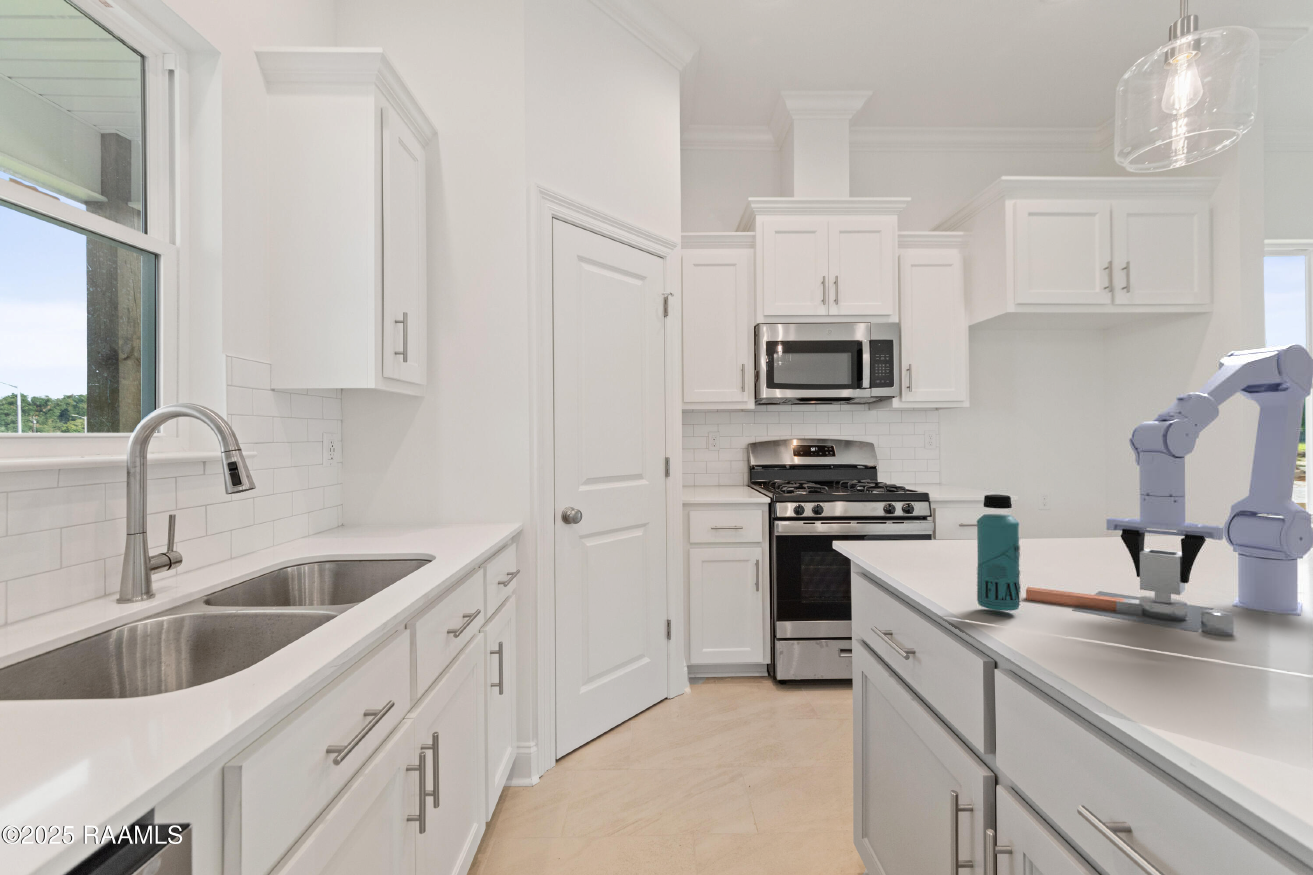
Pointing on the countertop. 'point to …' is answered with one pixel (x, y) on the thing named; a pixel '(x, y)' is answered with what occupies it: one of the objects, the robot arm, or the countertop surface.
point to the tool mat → (1189, 625)
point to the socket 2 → (1217, 623)
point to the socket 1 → (1161, 571)
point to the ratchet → (1117, 603)
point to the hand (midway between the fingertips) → (1162, 579)
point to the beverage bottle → (998, 557)
